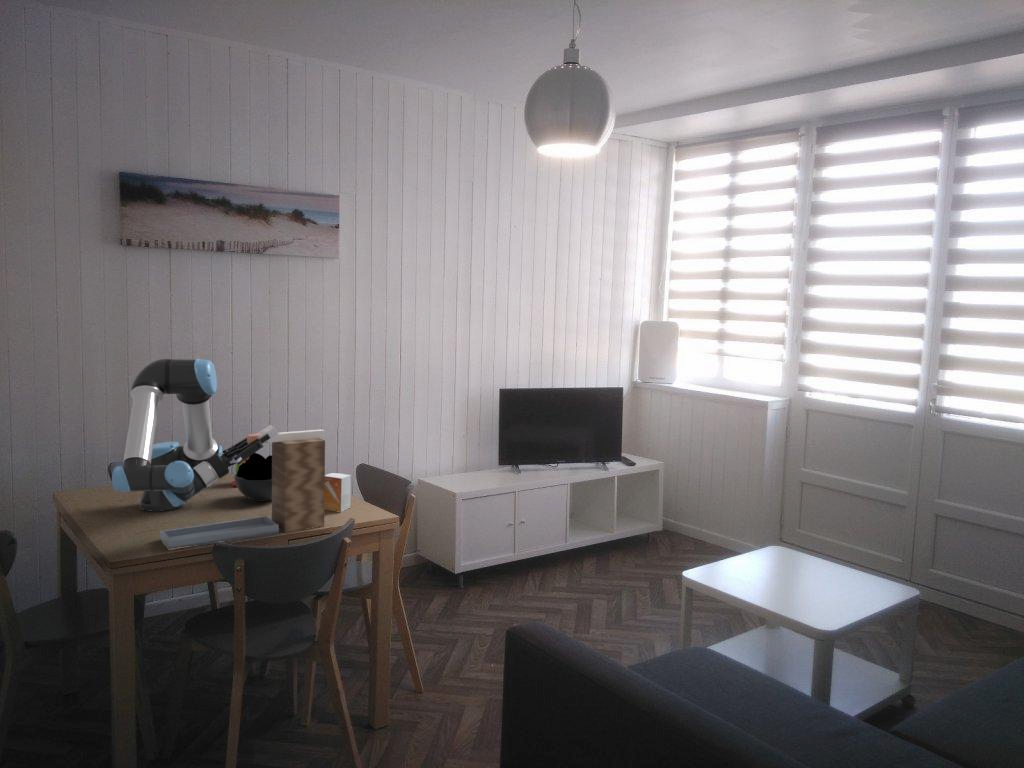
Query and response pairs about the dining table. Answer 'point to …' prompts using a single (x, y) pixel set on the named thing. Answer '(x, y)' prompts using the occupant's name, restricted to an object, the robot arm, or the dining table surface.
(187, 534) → the tray
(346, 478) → the small box
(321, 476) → the pedestal
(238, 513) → the dining table surface
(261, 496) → the coal bowl
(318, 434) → the marker
